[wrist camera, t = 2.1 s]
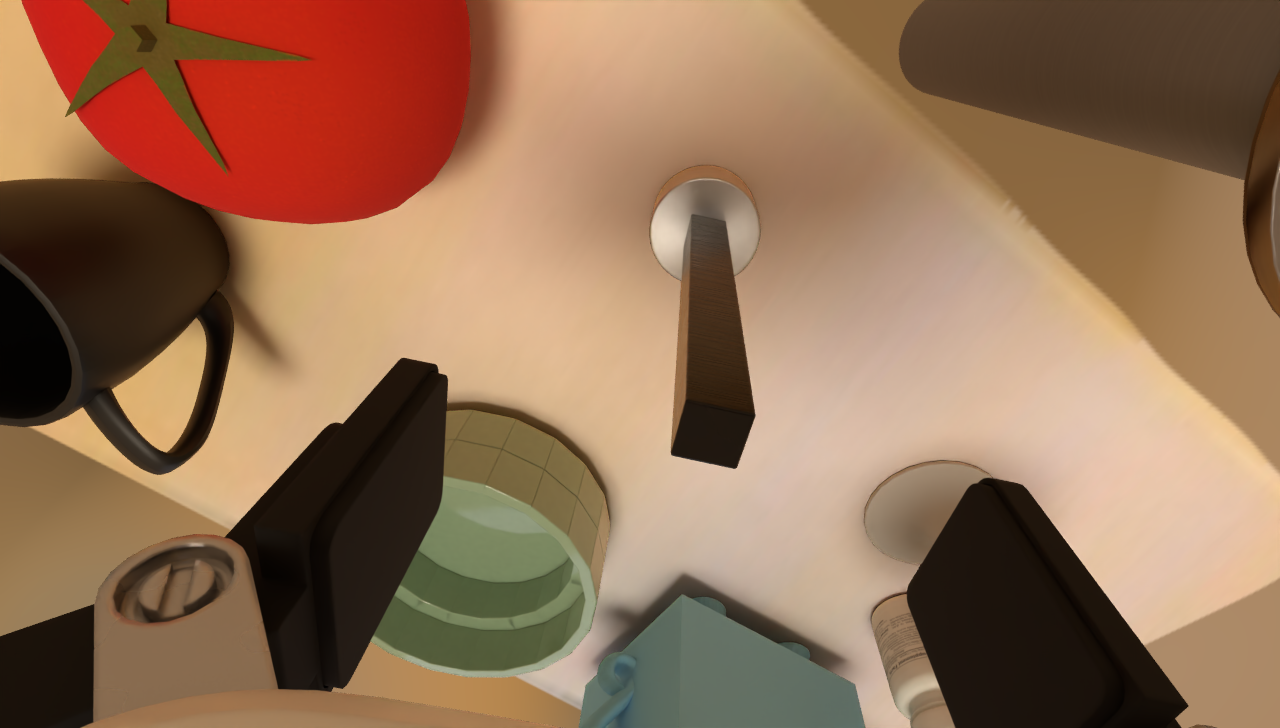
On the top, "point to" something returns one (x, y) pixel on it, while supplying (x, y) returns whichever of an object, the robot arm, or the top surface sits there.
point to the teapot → (714, 678)
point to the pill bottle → (908, 666)
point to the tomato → (267, 96)
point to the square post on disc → (708, 308)
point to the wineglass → (917, 507)
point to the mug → (106, 303)
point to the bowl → (502, 555)
